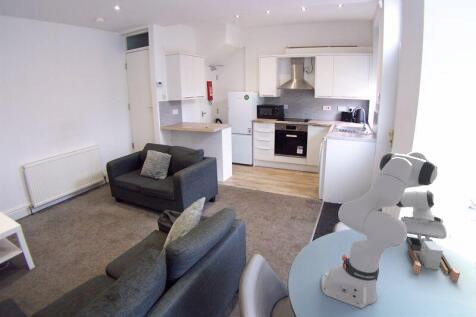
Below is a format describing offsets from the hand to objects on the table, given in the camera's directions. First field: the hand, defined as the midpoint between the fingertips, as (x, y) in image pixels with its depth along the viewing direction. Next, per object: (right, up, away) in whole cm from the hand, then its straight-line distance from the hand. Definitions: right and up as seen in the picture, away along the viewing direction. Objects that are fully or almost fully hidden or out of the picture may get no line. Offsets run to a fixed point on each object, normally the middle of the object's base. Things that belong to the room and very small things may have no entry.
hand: (423, 244), depth 144 cm
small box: (-3, -8, -8) cm, 11 cm away
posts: (-6, -10, -16) cm, 20 cm away
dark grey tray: (+1, -3, +5) cm, 6 cm away
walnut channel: (-3, -7, -7) cm, 10 cm away
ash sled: (-3, -7, -8) cm, 11 cm away
